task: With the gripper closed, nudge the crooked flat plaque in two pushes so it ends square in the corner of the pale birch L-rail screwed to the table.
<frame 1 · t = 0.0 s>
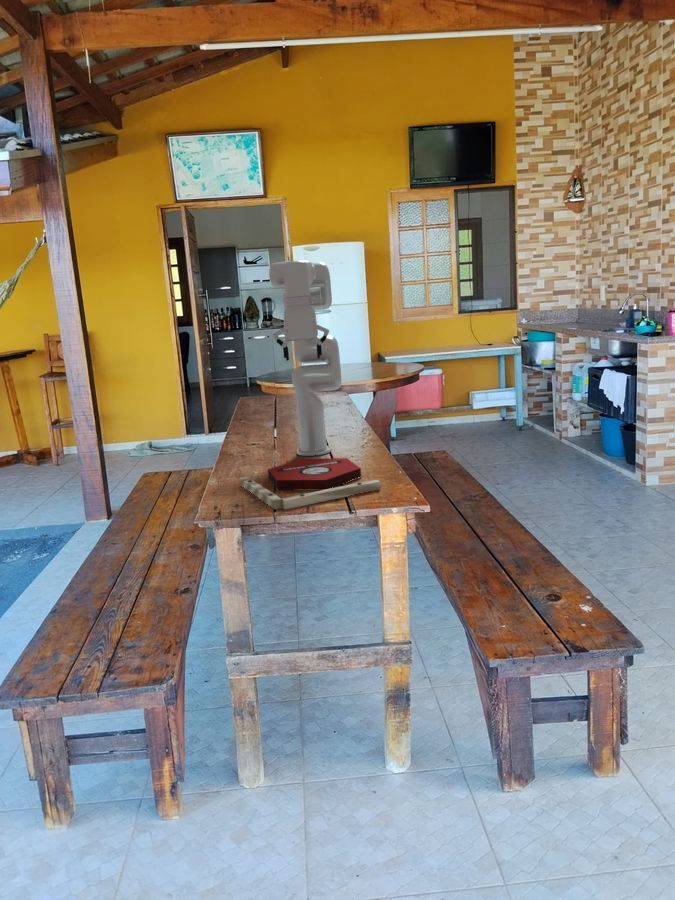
hand: (303, 359, 227), 37 cm above the table, tool pointing down, fingers open, 9 cm apart
corner rail: (306, 486, 223), on the table
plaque: (314, 480, 232), on the table
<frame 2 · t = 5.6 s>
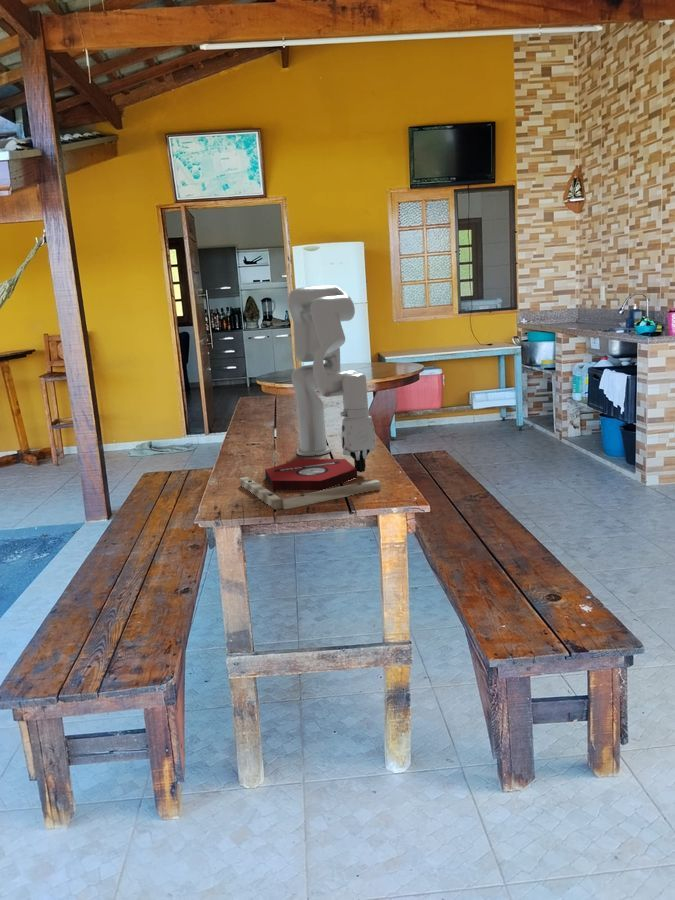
hand: (360, 471, 230), 2 cm above the table, tool pointing down, fingers closed
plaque: (311, 480, 232), on the table, touching gripper
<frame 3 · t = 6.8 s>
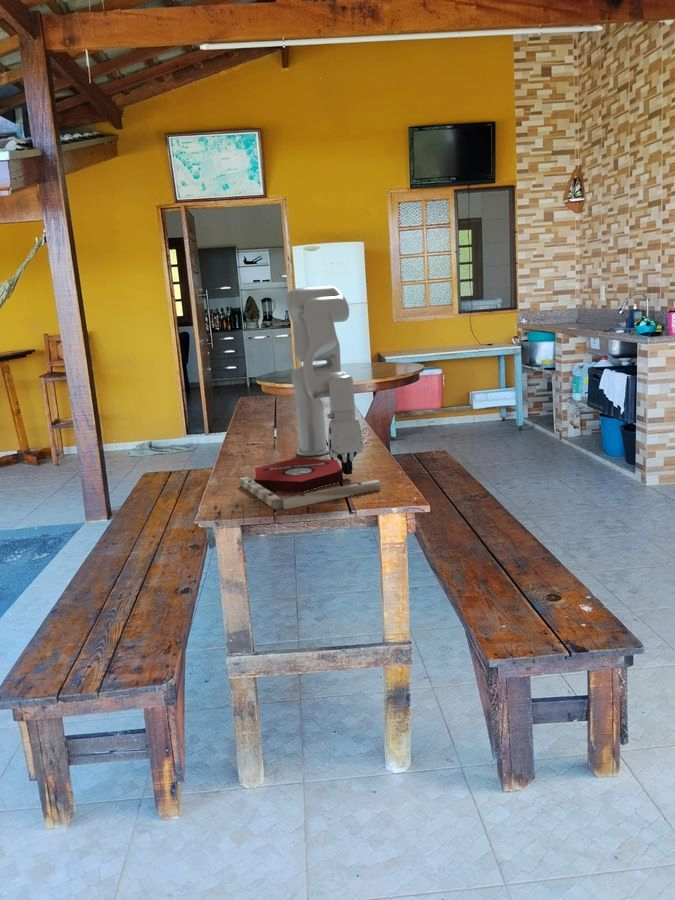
hand: (347, 473, 228), 2 cm above the table, tool pointing down, fingers closed
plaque: (298, 480, 231), on the table, touching corner rail, gripper
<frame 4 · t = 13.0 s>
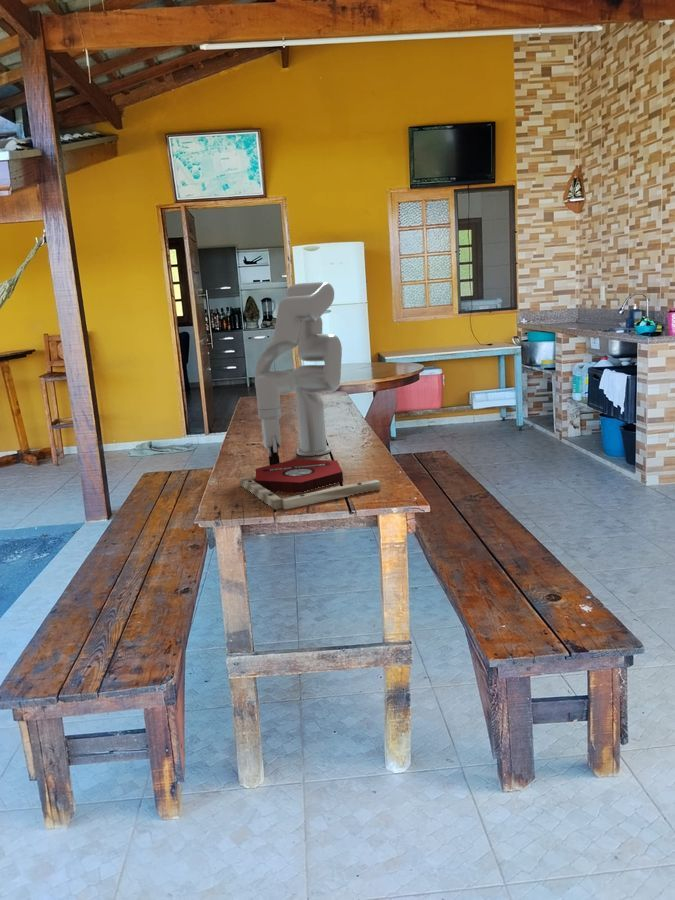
hand: (274, 467, 243), 1 cm above the table, tool pointing down, fingers closed
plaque: (298, 481, 231), on the table, touching gripper
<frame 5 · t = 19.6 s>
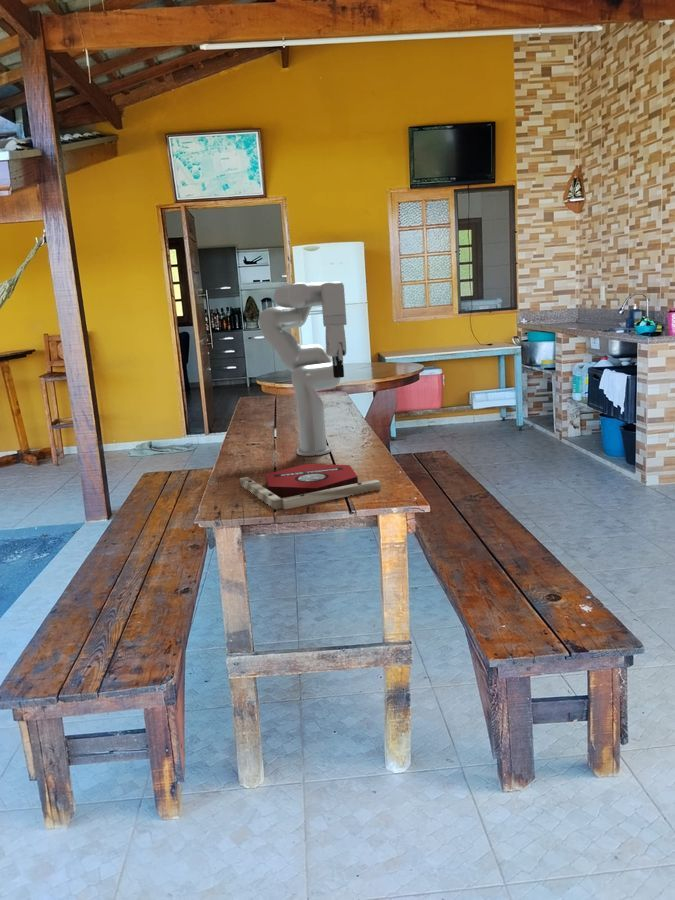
hand: (338, 377, 241), 29 cm above the table, tool pointing down, fingers closed
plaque: (311, 487, 224), on the table
at the end: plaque 2.2 cm off-centre on the corner rail, point -0.7 cm above the corner rail's base; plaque moved 7.9 cm from its start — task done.
